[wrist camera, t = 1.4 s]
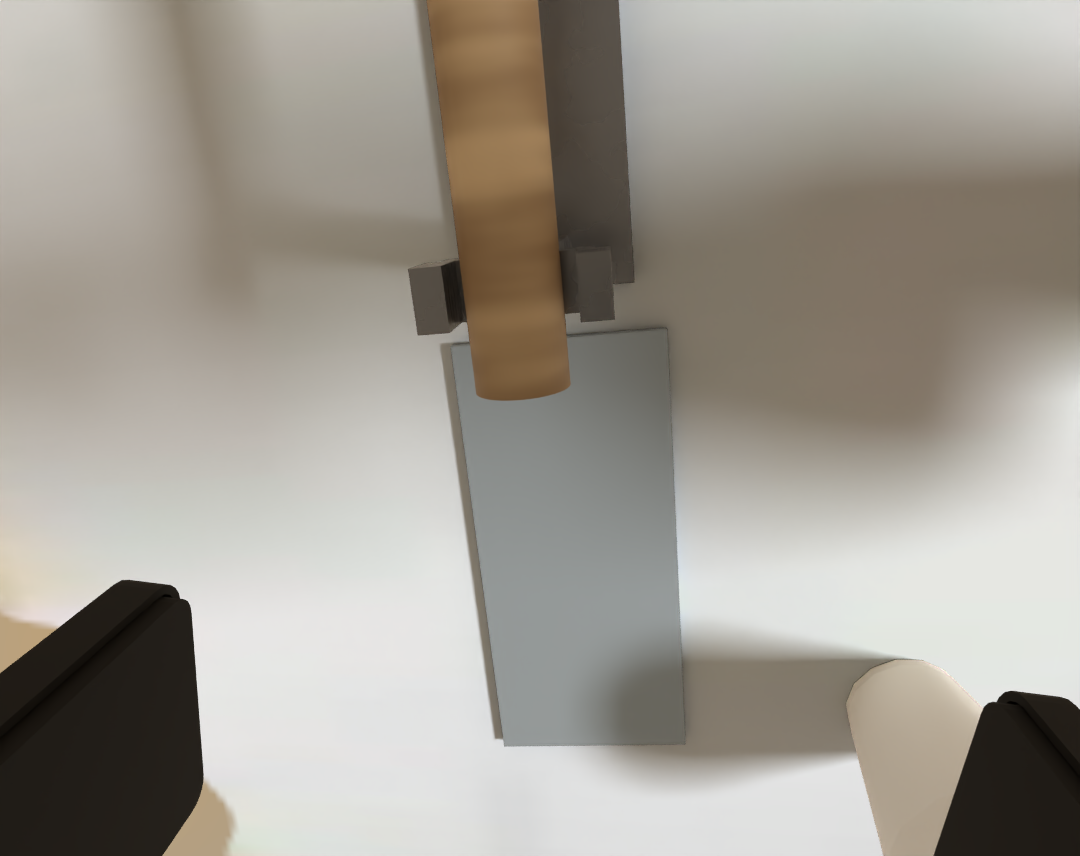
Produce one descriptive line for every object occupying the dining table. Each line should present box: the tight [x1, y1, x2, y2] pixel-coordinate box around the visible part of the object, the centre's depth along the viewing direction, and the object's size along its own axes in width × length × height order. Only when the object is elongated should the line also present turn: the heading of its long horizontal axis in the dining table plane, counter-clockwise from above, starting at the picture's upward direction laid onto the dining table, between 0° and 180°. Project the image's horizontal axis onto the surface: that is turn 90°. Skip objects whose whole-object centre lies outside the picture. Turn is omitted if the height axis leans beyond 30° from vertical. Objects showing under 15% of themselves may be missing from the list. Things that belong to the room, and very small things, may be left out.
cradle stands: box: [408, 0, 634, 335], centre depth 26 cm, size 8×21×15 cm, turn 6°
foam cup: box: [846, 659, 983, 856], centre depth 35 cm, size 10×9×13 cm
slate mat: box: [451, 328, 686, 746], centre depth 40 cm, size 11×25×1 cm, turn 6°
